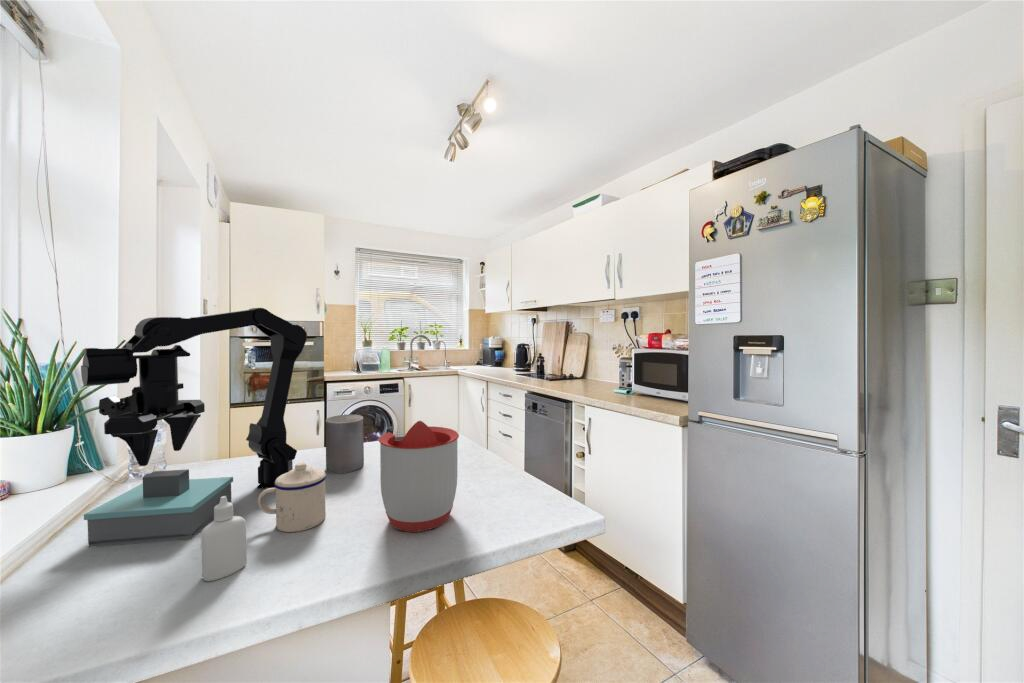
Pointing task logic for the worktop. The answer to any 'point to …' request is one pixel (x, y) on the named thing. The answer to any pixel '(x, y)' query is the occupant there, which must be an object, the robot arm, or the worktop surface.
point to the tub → (154, 525)
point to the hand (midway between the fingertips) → (161, 457)
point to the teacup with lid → (298, 499)
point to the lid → (161, 496)
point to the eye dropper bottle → (223, 543)
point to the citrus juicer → (419, 476)
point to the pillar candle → (344, 443)
